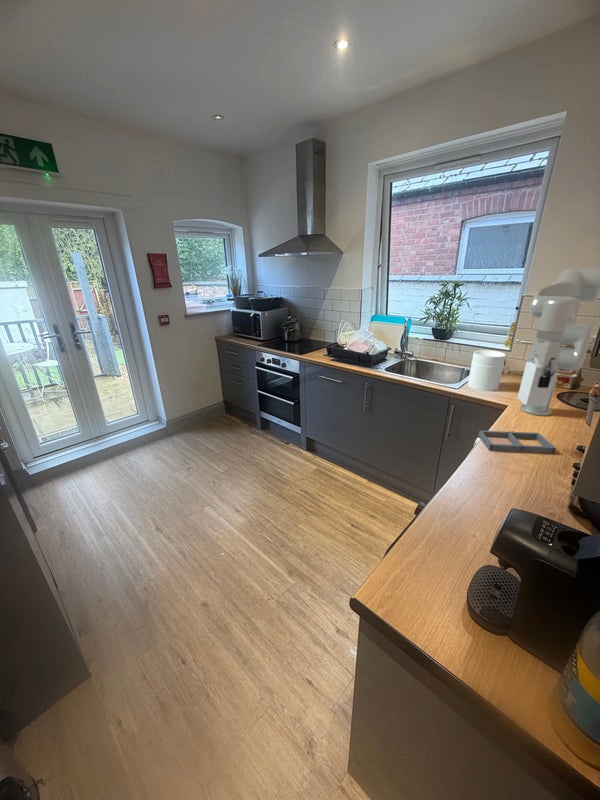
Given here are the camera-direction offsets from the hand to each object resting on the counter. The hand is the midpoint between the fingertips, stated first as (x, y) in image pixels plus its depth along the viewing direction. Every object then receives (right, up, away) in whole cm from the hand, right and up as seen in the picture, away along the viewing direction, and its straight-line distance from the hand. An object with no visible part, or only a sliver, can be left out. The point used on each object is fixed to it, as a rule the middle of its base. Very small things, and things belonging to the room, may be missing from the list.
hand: (536, 383), depth 120 cm
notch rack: (-2, -24, +10) cm, 26 cm away
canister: (+20, +2, +72) cm, 75 cm away
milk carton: (0, -7, +3) cm, 8 cm away
